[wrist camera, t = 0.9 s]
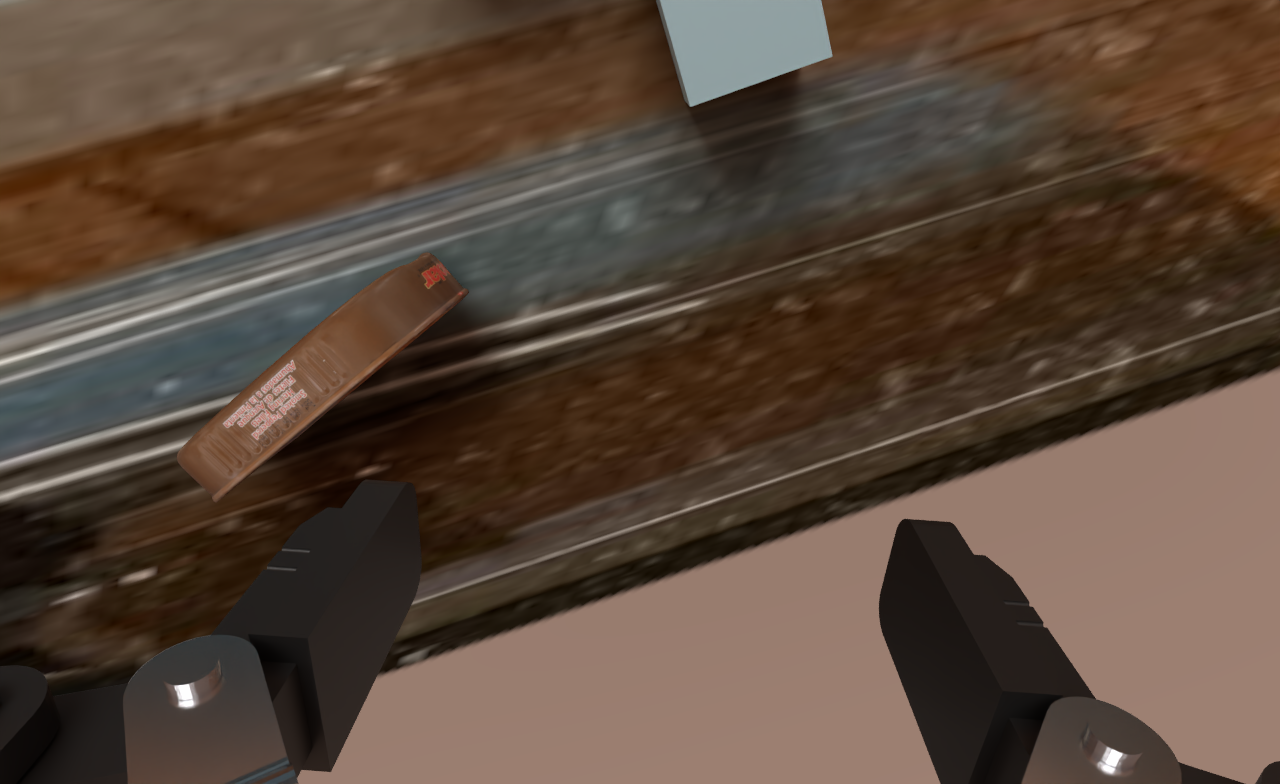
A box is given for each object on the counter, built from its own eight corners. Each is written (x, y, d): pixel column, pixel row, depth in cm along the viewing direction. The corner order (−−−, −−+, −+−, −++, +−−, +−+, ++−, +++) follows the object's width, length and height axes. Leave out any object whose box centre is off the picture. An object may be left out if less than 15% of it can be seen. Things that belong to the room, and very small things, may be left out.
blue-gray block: (770, -76, 27) (798, -113, 22) (800, 59, 29) (832, 56, 24) (647, -28, 28) (644, -53, 23) (684, 100, 30) (690, 107, 25)
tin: (285, 446, 38) (189, 542, 30) (238, 404, 37) (126, 492, 29) (491, 275, 33) (442, 336, 26) (444, 222, 32) (378, 269, 25)
